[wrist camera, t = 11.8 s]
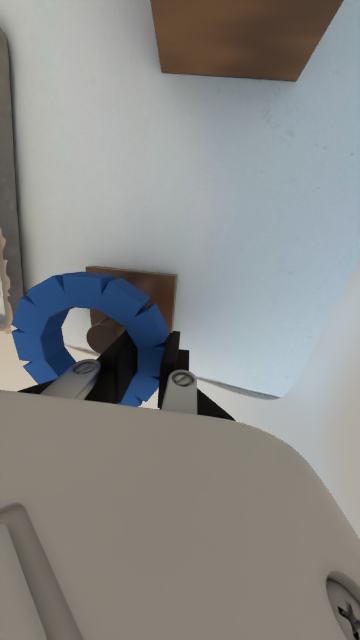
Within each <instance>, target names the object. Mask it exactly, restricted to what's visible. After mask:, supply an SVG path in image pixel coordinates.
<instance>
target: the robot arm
mask: <svg viewBox="0 0 360 640" xmlns="http://www.w3.org/2000/svg"><path fill="white" fill-rule="evenodd" d="M179 340H180V332H179V331H173V332H172V333H169V336H168V339H167V343H166V346H165V349H164V353H163V356H162V359H161V364H160V376H159V393H158V408H160V410H158V409H150V408H142V407H134V406H126V405H118V403H121V401H122V399H123V397H124V395H125V393H126V391H127V389H128V387H129V385H130V383H131V381H132V378H133V375H134V373H135V371H136V369H137V360H138V349H137V347H136V345H135V344H134V342H133V340H132V339H131V337H130V335H129V334H128V332H127V330H125V331H124V332H123V333H122V334H121V335H120V336H119V337H118V338H117V339H116V340H115V341H114V342H113V343H112V344H111V345H110V346H109V347H108V348H107V349H106V350H105V351H104V352H103V353H102V354H101V355H100V356H99V357H98V358H97V359H96V360H94V359H86V360H81V361H79V362H76V363H75V364H73V365H72V366H71V367H70V368H68V369H67V370H66V371H65V372H64V373H63V374H62V375H61V376H60V377H59V378H57V379H54V380H51V381H48V382H45V383H42V384H38V385H35V386H32V387H29V388H26V389H23V390H20V391H17V392H13V391H5V390H0V640H360V539H359V537H358V536H357V534H356V533H355V531H354V530H353V528H352V526H351V524H350V523H349V521H348V520H347V518H346V516H345V515H344V514H343V512H342V510H341V509H340V507H339V506H338V504H337V503H336V501H335V499H334V498H333V496H332V495H331V493H330V492H329V490H328V489H327V488H326V486H325V485H324V483H323V482H322V480H321V479H320V478H319V476H318V475H317V473H316V472H315V471H314V470H313V468H312V467H311V466H310V465H309V463H308V462H307V461H306V460H305V459H304V458H303V457H302V456H301V455H300V454H299V453H298V452H297V451H296V450H295V449H293V448H292V447H291V446H290V445H288V444H287V443H285V442H284V441H282V440H281V439H279V438H277V437H275V436H274V435H271V434H269V433H267V432H265V431H263V430H261V429H259V428H256V427H253V426H250V425H247V424H244V423H240V422H236V421H235V420H234V418H232V416H230V415H229V414H228V413H226V411H224V410H223V409H222V408H221V407H219V406H218V405H217V404H216V403H215V402H213V401H212V400H211V399H209V397H207V396H206V395H205V394H204V393H202V392H201V391H200V390H199V389H198V388H197V380H196V377H195V375H194V374H192V373H191V372H189V350H181V349H179Z"/></svg>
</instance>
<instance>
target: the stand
mask: <svg viewBox="0 0 360 640" xmlns="http://www.w3.org/2000/svg"><path fill="white" fill-rule="evenodd" d="M150 2H151V8H152V14H153V20H154V27H155V33H156V39H157V46H158V52H159V58H160V64H161V71H162V72H167V73H182V74H197V75H213V76H228V77H243V78H259V79H274V80H290V81H297V79H298V77H299V76H300V74H301V72H302V71H303V69H304V67H305V65H306V64H307V62H308V60H309V59H310V57H311V55H312V53H313V52H314V50H315V48H316V47H317V45H318V43H319V42H320V40H321V38H322V36H323V35H324V33H325V31H326V30H327V28H328V26H329V24H330V23H331V21H332V19H333V18H334V16H335V14H336V12H337V11H338V9H339V7H340V6H341V4H342V2H343V0H150Z"/></svg>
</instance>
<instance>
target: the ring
mask: <svg viewBox="0 0 360 640" xmlns="http://www.w3.org/2000/svg"><path fill="white" fill-rule="evenodd" d="M26 293H27V294H28V296H23V297H21V298H20V301H19V303H18V306H17V309H16V312H15V315H14V318H13V321H12V325H13V326H15V327H16V328H18V329H16V330H14V331H12V335H13V339H14V342H15V346H16V349H17V353H18V357H19V359H20V360H23V361H30V362H29V363H27V364H26V365H24V366H23V367H24V368H25V370H26V371H27V372H28V373H29V374H30V375H31V376H32V378H33V379H34V380H35V381H36V382H37V383H38V384H42V383H45V382H48V381H51V380H54V379H57V378H59V377H60V376H61V375H62V374H63V373H64V372H65V371H66V370H67V369H68V368H70V367H71V366H72V365H73V364H75V363H76V361H75V360H74V359H73V357H72V356H71V355H70V354H69V352H68V351H67V349H66V348H65V347H64V341H63V335H62V329H61V327H62V324H63V322H64V320H65V318H66V316H67V314H68V312H69V310H70V309H72V308H74V307H78V308H87V309H97V310H100V311H101V312H103V313H104V314H106V315H107V316H109V317H111V318H112V319H114V320H115V321H117V322H118V323H120V324H121V325H123V326H124V327H125V329H126V330H127V332H128V334H129V335H130V337H131V339H132V340H133V342H134V344H135V345H136V347H137V349H138V360H137V369H136V371H135V373H134V375H133V378H132V381H131V383H130V385H129V387H128V389H127V391H126V393H125V395H124V397H123V399H122V401H121V403H118V405H126V406H134V407H138V406H140V405H141V404H142V401H145V402H146V401H148V399H149V398H150V397H151V396H152V395H153V394H154V392H155V391H156V390H157V389H158V388H159V376H160V364H161V359H162V356H163V353H164V349H165V346H166V343H167V339H168V336H167V335H168V332H169V328H168V327H167V325H166V323H165V321H164V319H163V317H162V315H161V313H160V311H159V309H158V307H157V305H156V303H154V304H151V305H149V306H147V307H145V308H144V306H145V305H146V303H147V302H148V300H149V299H150V297H149V296H148V295H146V294H145V293H143V292H142V291H141V290H139V289H138V288H136V287H135V286H133V285H132V284H130V283H129V282H128V281H126V280H125V279H123V278H120V279H116V280H115V276H114V275H110V274H100V273H90V272H76V273H66V274H63V275H55V276H52V277H50V278H48V279H47V280H45V281H43V282H41V283H39V284H38V285H36V286H34V287H32V288H31V289H29V290H27V291H26Z"/></svg>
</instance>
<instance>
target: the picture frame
mask: <svg viewBox="0 0 360 640" xmlns="http://www.w3.org/2000/svg"><path fill="white" fill-rule="evenodd" d="M16 201H17V199H16V187H15V167H14V154H13V132H12V116H11V91H10V79H9V56H8V46H7V38H6V35H5V33H4V32H3V31H2V30H1V28H0V330H1V331H4V332H5V333H12V331H11V328H10V326H11V325H12V321H13V318H14V315H15V312H16V309H17V306H18V303H19V301H20V298H21V297H23V296H24V294H23V279H22V269H21V252H20V244H19V228H18V216H17V204H16Z"/></svg>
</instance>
